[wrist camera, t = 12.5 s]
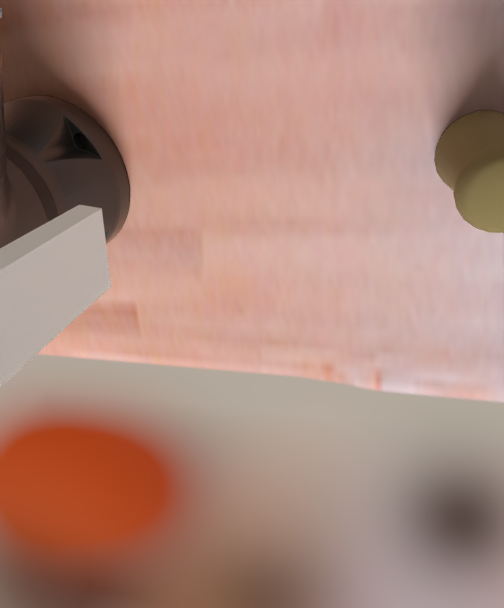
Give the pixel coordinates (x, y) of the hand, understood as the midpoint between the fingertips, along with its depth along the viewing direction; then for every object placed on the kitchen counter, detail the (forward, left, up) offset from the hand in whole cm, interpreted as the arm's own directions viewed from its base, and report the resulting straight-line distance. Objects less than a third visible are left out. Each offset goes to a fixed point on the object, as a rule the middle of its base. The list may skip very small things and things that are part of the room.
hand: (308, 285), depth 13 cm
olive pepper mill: (+9, -1, -27) cm, 28 cm away
